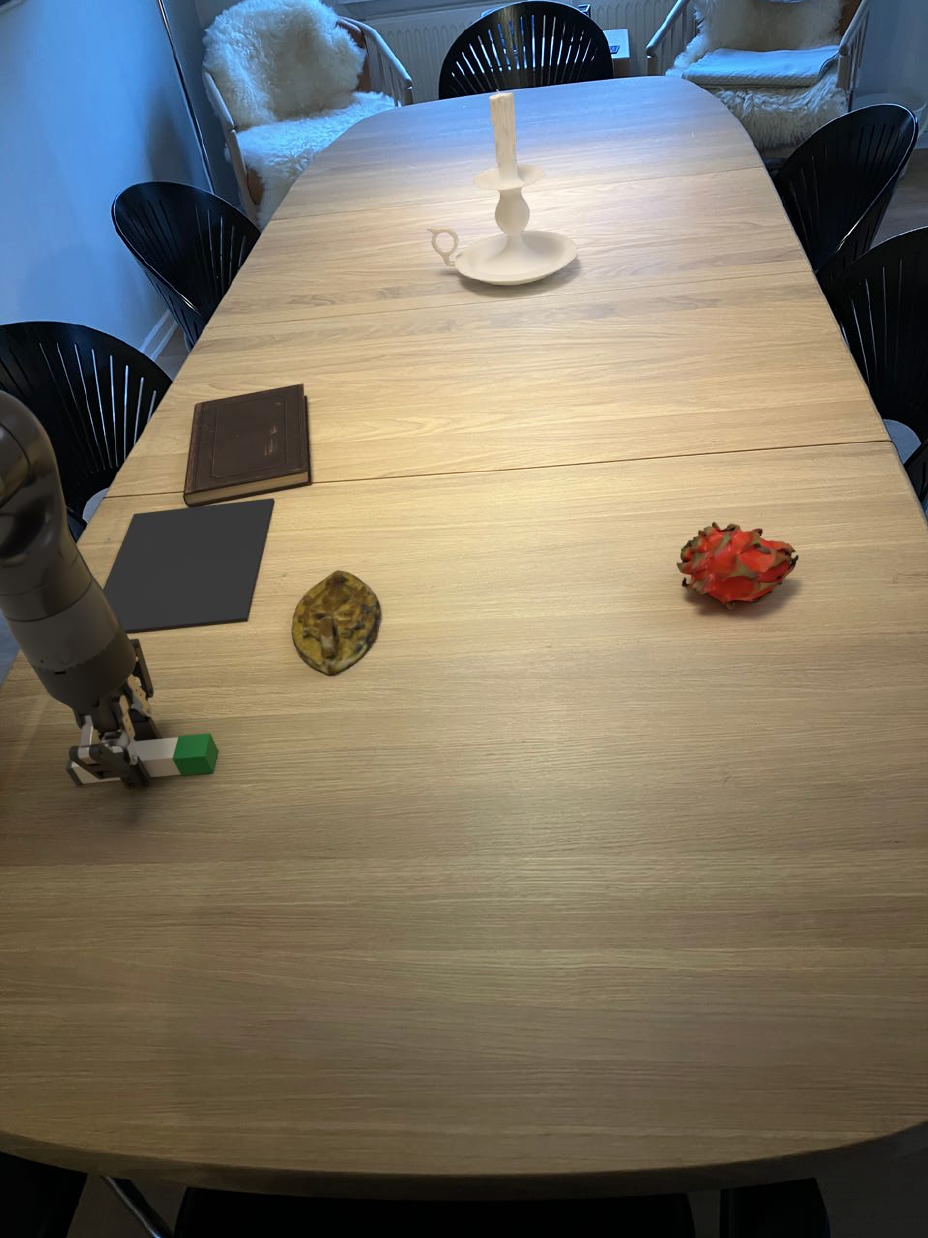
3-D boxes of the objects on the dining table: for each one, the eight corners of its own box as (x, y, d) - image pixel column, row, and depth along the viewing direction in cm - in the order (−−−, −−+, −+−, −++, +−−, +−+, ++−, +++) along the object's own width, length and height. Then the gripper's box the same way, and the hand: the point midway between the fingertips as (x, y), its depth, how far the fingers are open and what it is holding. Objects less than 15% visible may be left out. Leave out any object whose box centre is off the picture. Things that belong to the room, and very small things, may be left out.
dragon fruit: (664, 602, 96) (779, 606, 96) (684, 612, 87) (810, 615, 87) (669, 519, 94) (785, 523, 95) (689, 521, 86) (817, 525, 86)
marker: (76, 785, 85) (64, 769, 83) (84, 762, 87) (73, 745, 85) (213, 773, 84) (204, 756, 82) (218, 750, 86) (210, 732, 84)
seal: (299, 592, 103) (294, 688, 92) (284, 560, 100) (276, 655, 89) (379, 572, 102) (384, 666, 91) (366, 539, 99) (369, 633, 88)
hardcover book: (307, 397, 134) (303, 382, 132) (311, 484, 117) (307, 469, 115) (198, 417, 133) (192, 403, 132) (186, 508, 116) (180, 493, 115)
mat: (86, 637, 100) (84, 634, 100) (135, 516, 116) (133, 513, 116) (247, 621, 99) (246, 617, 99) (274, 501, 115) (273, 497, 115)
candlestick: (444, 253, 167) (420, 79, 148) (581, 244, 162) (575, 64, 143) (423, 304, 152) (393, 118, 133) (573, 296, 147) (565, 102, 128)
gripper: (52, 579, 79) (126, 711, 91) (-7, 703, 69) (85, 834, 80) (137, 570, 79) (200, 704, 90) (90, 694, 68) (169, 826, 80)
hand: (146, 764), depth 85 cm, fingers open, 4 cm apart
